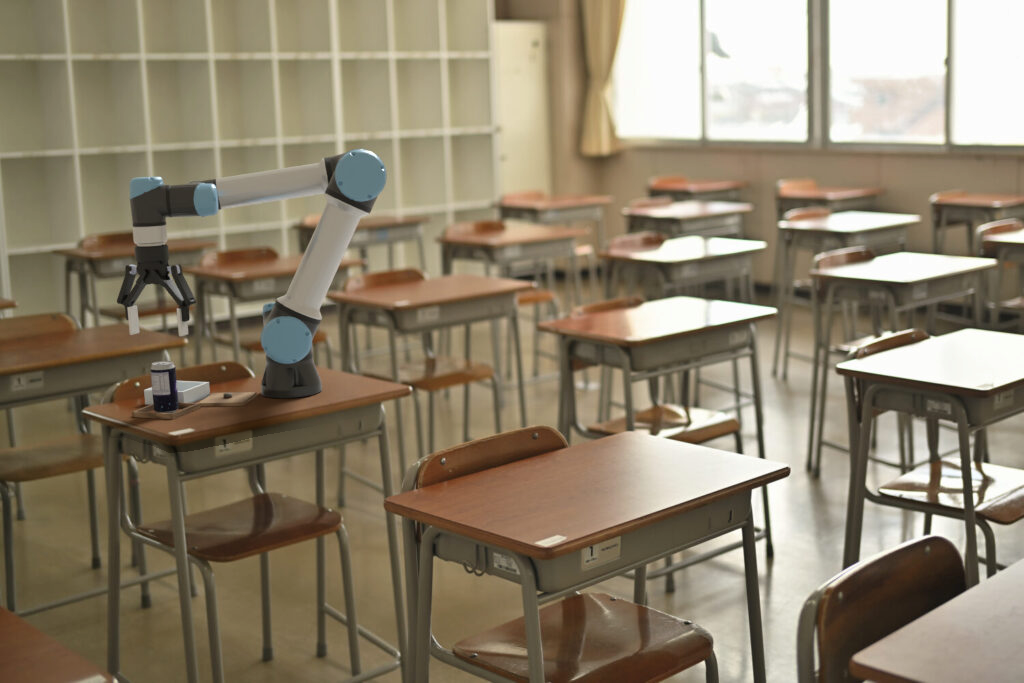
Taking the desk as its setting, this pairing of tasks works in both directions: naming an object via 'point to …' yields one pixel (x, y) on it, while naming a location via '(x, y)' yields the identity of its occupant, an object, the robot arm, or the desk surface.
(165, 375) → the beverage can
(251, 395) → the lid
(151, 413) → the frame
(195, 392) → the tray
